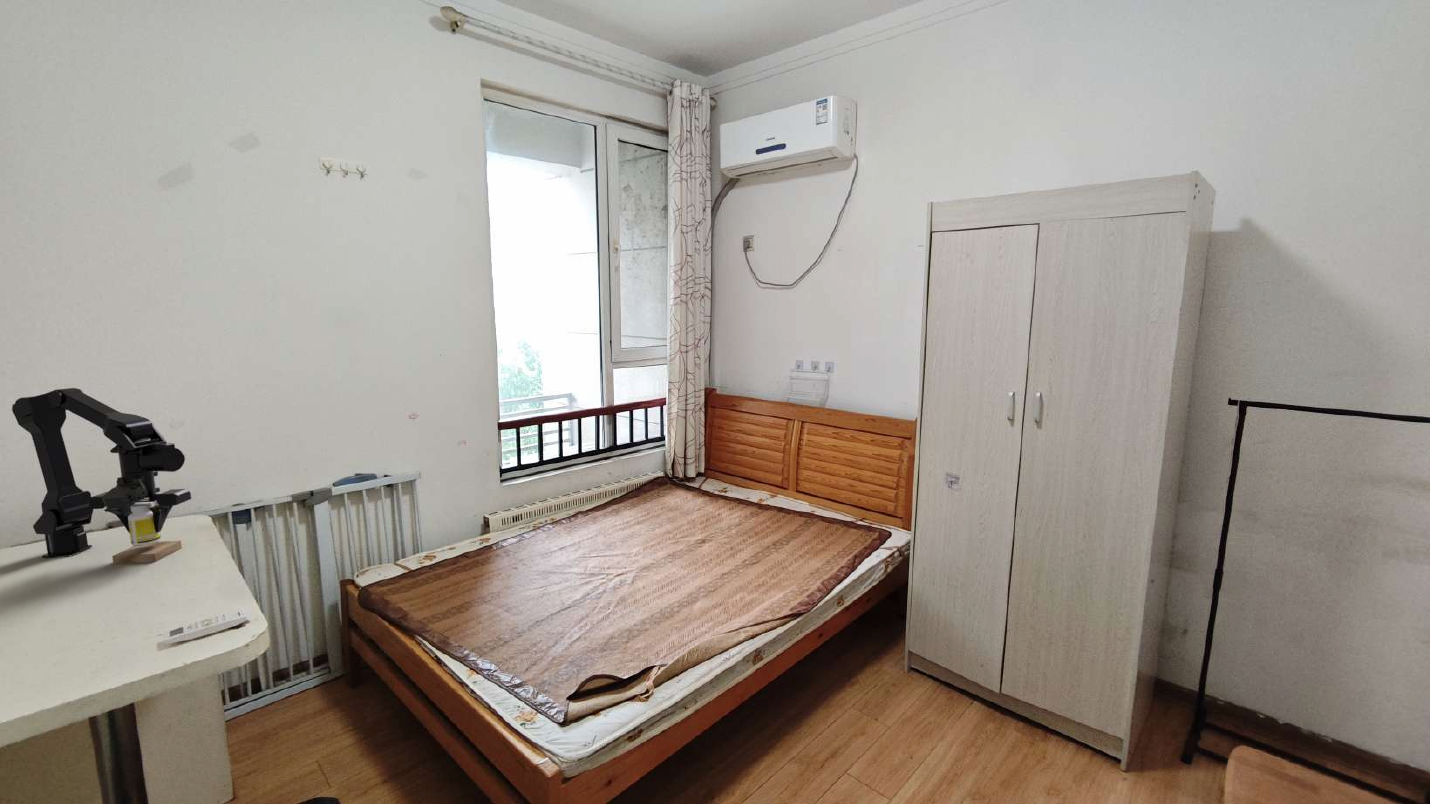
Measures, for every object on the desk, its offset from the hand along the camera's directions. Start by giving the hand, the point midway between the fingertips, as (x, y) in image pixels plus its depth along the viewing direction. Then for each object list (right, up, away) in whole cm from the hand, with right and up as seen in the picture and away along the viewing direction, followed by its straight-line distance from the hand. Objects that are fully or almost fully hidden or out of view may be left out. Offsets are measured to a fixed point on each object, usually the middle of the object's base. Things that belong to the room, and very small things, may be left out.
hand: (145, 532), depth 151 cm
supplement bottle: (0, -3, 0) cm, 3 cm away
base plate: (0, -6, +1) cm, 6 cm away
